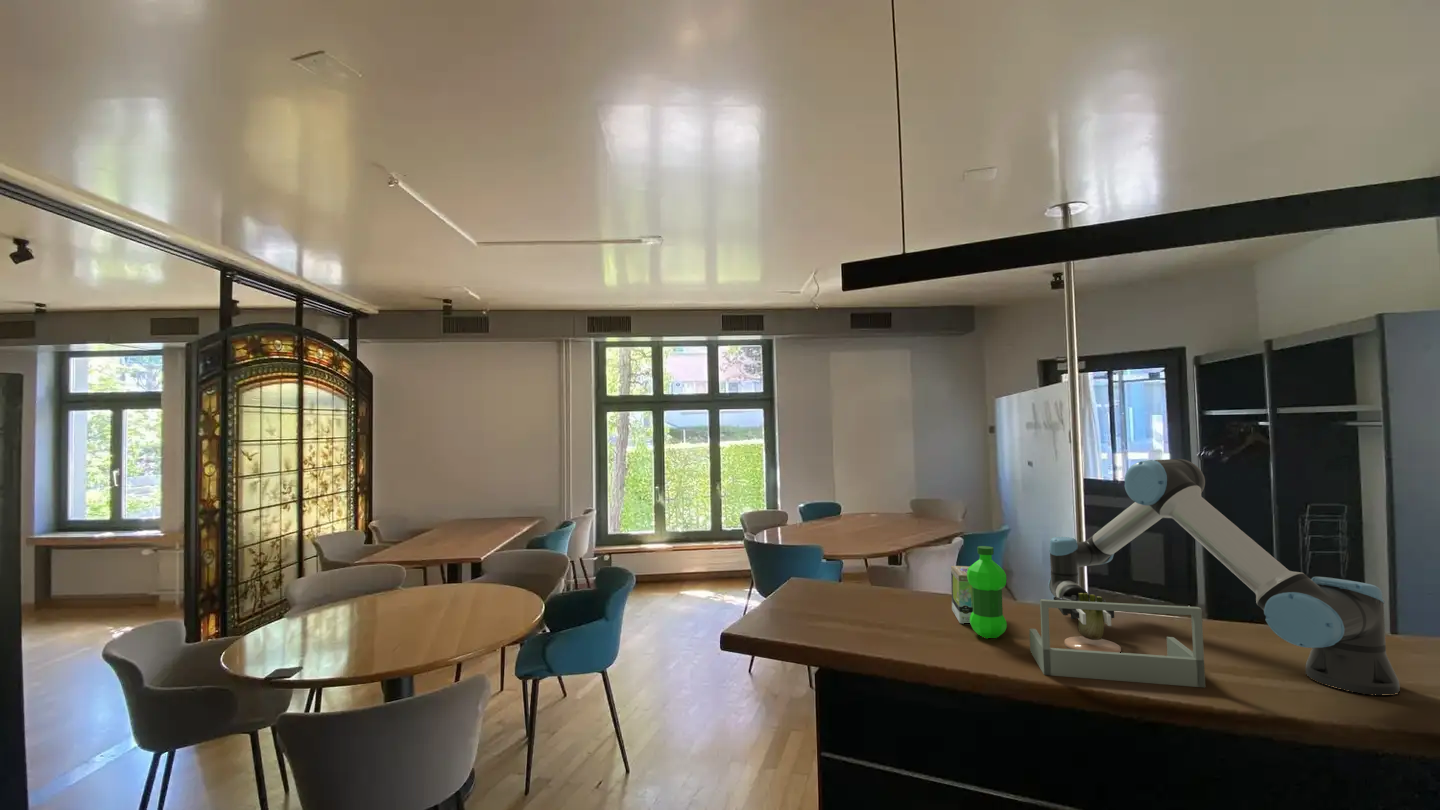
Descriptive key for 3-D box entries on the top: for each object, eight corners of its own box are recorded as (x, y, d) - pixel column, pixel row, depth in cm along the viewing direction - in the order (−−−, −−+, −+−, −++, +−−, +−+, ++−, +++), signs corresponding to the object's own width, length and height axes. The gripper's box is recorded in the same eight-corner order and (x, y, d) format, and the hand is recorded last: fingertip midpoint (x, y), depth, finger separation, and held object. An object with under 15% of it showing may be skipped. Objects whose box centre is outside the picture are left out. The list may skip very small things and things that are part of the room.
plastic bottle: (972, 640, 177) (969, 550, 178) (967, 629, 187) (964, 543, 188) (1011, 643, 174) (1008, 551, 175) (1003, 631, 184) (1000, 544, 186)
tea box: (994, 625, 190) (992, 575, 190) (959, 624, 192) (957, 574, 192) (984, 611, 205) (982, 565, 205) (951, 610, 207) (949, 564, 207)
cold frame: (1030, 651, 168) (1027, 584, 168) (1174, 661, 159) (1171, 590, 159) (1044, 674, 152) (1041, 600, 152) (1205, 687, 143) (1201, 608, 143)
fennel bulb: (1107, 641, 168) (1105, 595, 168) (1091, 643, 167) (1088, 597, 167) (1090, 634, 173) (1088, 590, 174) (1075, 636, 172) (1072, 591, 173)
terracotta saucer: (1126, 646, 170) (1126, 643, 170) (1113, 659, 161) (1113, 656, 161) (1073, 636, 179) (1073, 633, 179) (1057, 647, 170) (1057, 644, 170)
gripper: (1108, 611, 185) (1137, 637, 162) (1039, 607, 190) (1058, 632, 167) (1107, 585, 185) (1136, 607, 163) (1038, 582, 190) (1057, 603, 168)
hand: (1096, 619), depth 165 cm, fingers closed on fennel bulb, 5 cm apart
